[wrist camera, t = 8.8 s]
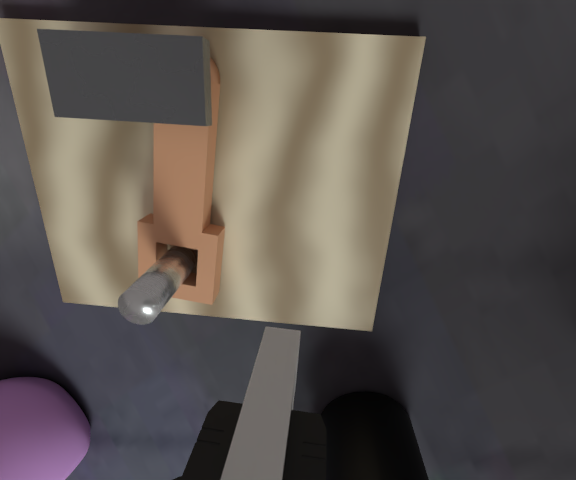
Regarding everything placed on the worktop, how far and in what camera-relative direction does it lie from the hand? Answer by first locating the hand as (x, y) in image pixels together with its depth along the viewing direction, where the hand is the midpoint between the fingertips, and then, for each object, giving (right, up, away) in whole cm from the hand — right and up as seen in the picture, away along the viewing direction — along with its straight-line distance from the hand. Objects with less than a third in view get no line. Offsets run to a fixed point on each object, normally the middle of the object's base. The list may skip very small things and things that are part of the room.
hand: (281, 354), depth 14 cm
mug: (+7, -14, +20) cm, 26 cm away
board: (-6, +9, +12) cm, 16 cm away
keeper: (-8, +16, +8) cm, 19 cm away
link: (-7, +9, +10) cm, 15 cm away
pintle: (-8, +4, +13) cm, 15 cm away
